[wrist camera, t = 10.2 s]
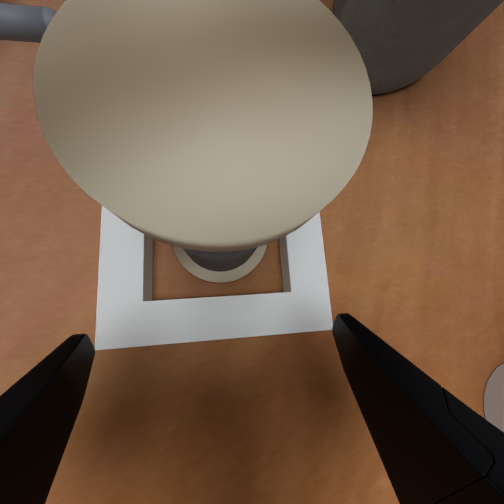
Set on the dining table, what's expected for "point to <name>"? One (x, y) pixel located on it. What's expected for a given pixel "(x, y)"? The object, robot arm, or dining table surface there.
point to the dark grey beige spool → (205, 118)
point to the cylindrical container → (495, 398)
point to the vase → (407, 34)
